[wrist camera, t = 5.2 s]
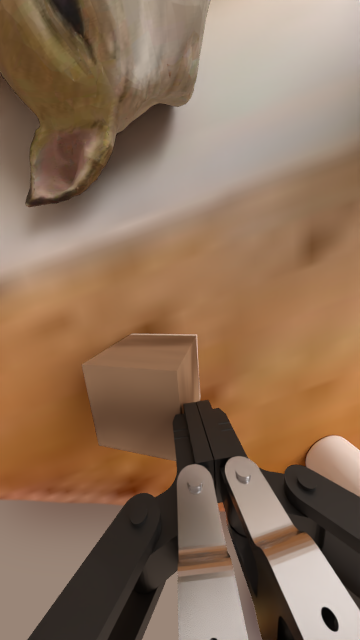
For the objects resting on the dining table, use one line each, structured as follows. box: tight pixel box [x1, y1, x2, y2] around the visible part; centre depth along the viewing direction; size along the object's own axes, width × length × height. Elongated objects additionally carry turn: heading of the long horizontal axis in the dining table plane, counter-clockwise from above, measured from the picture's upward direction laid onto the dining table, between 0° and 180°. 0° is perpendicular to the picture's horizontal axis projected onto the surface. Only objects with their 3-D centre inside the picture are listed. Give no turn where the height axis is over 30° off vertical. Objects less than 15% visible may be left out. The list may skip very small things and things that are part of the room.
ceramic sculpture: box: [0, 0, 210, 207], centre depth 9 cm, size 11×9×15 cm
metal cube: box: [82, 334, 200, 461], centre depth 14 cm, size 6×6×6 cm
